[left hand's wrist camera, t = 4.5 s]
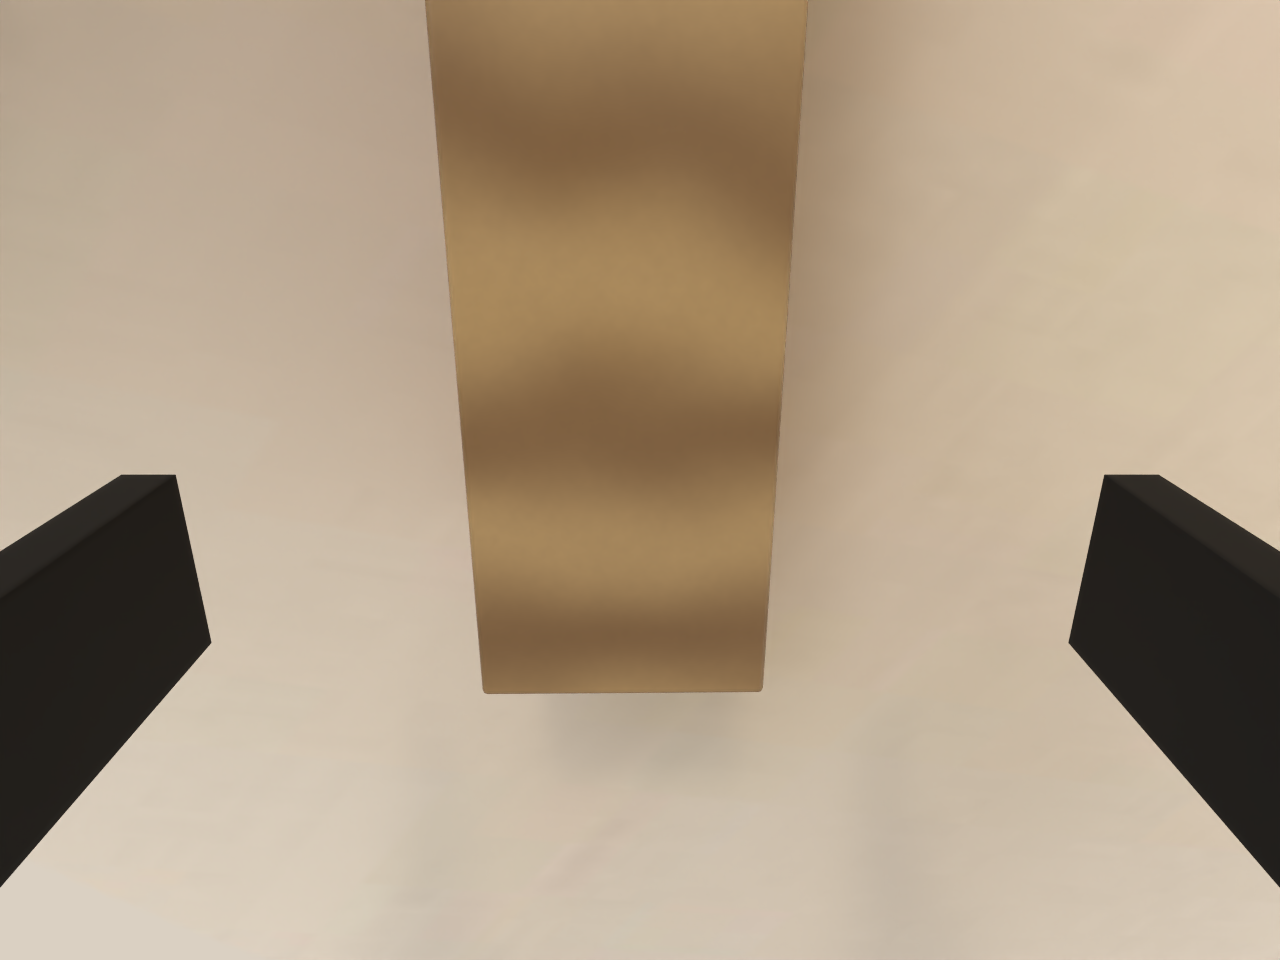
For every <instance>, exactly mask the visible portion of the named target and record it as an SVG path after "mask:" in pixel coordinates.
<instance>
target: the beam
mask: <svg viewBox="0 0 1280 960" xmlns="http://www.w3.org/2000/svg"><path fill="white" fill-rule="evenodd" d="M425 6H426V18H427V30H428V42H429V54H430V66H431V78H432V90H433V102H434V114H435V125H436V137H437V149H438V161H439V173H440V185H441V197H442V209H443V221H444V233H445V245H446V257H447V269H448V281H449V292H450V304H451V316H452V328H453V340H454V352H455V364H456V376H457V388H458V400H459V412H460V424H461V436H462V448H463V460H464V471H465V483H466V495H467V507H468V519H469V531H470V543H471V555H472V567H473V579H474V591H475V603H476V615H477V627H478V638H479V650H480V662H481V674H482V686H483V691H484V693H486V694H532V693H667V692H759V691H761V690H762V688H763V677H764V662H765V647H766V632H767V616H768V601H769V586H770V571H771V556H772V541H773V525H774V510H775V495H776V480H777V465H778V449H779V434H780V419H781V404H782V389H783V374H784V358H785V343H786V328H787V313H788V298H789V282H790V267H791V252H792V237H793V222H794V207H795V191H796V176H797V161H798V146H799V131H800V115H801V100H802V85H803V70H804V55H805V40H806V24H807V9H808V0H425Z"/></svg>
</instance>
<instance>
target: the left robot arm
mask: <svg viewBox="0 0 1280 960" xmlns="http://www.w3.org/2000/svg"><path fill="white" fill-rule="evenodd" d="M210 644H211V638H210V634H209V629H208V624H207V620H206V615H205V610H204V605H203V601H202V596H201V591H200V587H199V582H198V577H197V573H196V568H195V563H194V559H193V554H192V549H191V545H190V540H189V535H188V531H187V526H186V521H185V516H184V512H183V507H182V502H181V498H180V493H179V488H178V484H177V479H176V475H120V476H119V477H117V478H115V479H114V480H112V481H111V482H109V483H108V484H106V485H104V486H103V487H101V488H100V489H98V490H97V491H95V492H93V493H92V494H90V495H89V496H87V497H85V498H84V499H82V500H81V501H79V502H78V503H76V504H74V505H73V506H71V507H70V508H68V509H66V510H65V511H63V512H62V513H60V514H59V515H57V516H55V517H54V518H52V519H51V520H49V521H48V522H46V523H44V524H43V525H41V526H40V527H38V528H36V529H35V530H33V531H32V532H30V533H29V534H27V535H25V536H24V537H22V538H21V539H19V540H18V541H16V542H14V543H13V544H11V545H10V546H8V547H6V548H5V549H3V550H2V551H0V887H1V886H2V885H3V884H4V882H5V881H6V880H7V879H8V878H9V877H10V876H11V874H12V873H13V872H14V871H15V870H16V869H17V867H18V866H19V865H20V864H21V863H22V862H23V860H24V859H25V858H26V857H27V856H28V855H29V854H30V852H31V851H32V850H33V849H34V848H35V847H36V845H37V844H38V843H39V842H40V841H41V840H42V838H43V837H44V836H45V835H46V834H47V833H48V832H49V830H50V829H51V828H52V827H53V826H54V825H55V823H56V822H57V821H58V820H59V819H60V818H61V816H62V815H63V814H64V813H65V812H66V811H67V810H68V808H69V807H70V806H71V805H72V804H73V803H74V801H75V800H76V799H77V798H78V797H79V796H80V794H81V793H82V792H83V791H84V790H85V789H86V788H87V786H88V785H89V784H90V783H91V782H92V781H93V779H94V778H95V777H96V776H97V775H98V774H99V772H100V771H101V770H102V769H103V768H104V767H105V765H106V764H107V763H108V762H109V761H110V760H111V759H112V757H113V756H114V755H115V754H116V753H117V752H118V750H119V749H120V748H121V747H122V746H123V745H124V743H125V742H126V741H127V740H128V739H129V738H130V737H131V735H132V734H133V733H134V732H135V731H136V730H137V728H138V727H139V726H140V725H141V724H142V723H143V721H144V720H145V719H146V718H147V717H148V716H149V715H150V713H151V712H152V711H153V710H154V709H155V708H156V706H157V705H158V704H159V703H160V702H161V701H162V699H163V698H164V697H165V696H166V695H167V694H168V693H169V691H170V690H171V689H172V688H173V687H174V686H175V684H176V683H177V682H178V681H179V680H180V679H181V677H182V676H183V675H184V674H185V673H186V672H187V671H188V669H189V668H190V667H191V666H192V665H193V664H194V662H195V661H196V660H197V659H198V658H199V657H200V655H201V654H202V653H203V652H204V651H205V650H206V649H207V647H208V646H209V645H210ZM1069 644H1070V645H1071V646H1072V647H1073V649H1074V650H1075V651H1076V652H1077V653H1078V654H1079V655H1080V657H1081V658H1082V659H1083V660H1084V661H1085V662H1086V664H1087V665H1088V666H1089V667H1090V668H1091V669H1092V671H1093V672H1094V673H1095V674H1096V675H1097V676H1098V677H1099V679H1100V680H1101V681H1102V682H1103V683H1104V684H1105V686H1106V687H1107V688H1108V689H1109V690H1110V691H1111V693H1112V694H1113V695H1114V696H1115V697H1116V698H1117V699H1118V701H1119V702H1120V703H1121V704H1122V705H1123V706H1124V708H1125V709H1126V710H1127V711H1128V712H1129V713H1130V715H1131V716H1132V717H1133V718H1134V719H1135V720H1136V721H1137V723H1138V724H1139V725H1140V726H1141V727H1142V728H1143V730H1144V731H1145V732H1146V733H1147V734H1148V735H1149V737H1150V738H1151V739H1152V740H1153V741H1154V742H1155V743H1156V745H1157V746H1158V747H1159V748H1160V749H1161V750H1162V752H1163V753H1164V754H1165V755H1166V756H1167V757H1168V759H1169V760H1170V761H1171V762H1172V763H1173V764H1174V765H1175V767H1176V768H1177V769H1178V770H1179V771H1180V772H1181V774H1182V775H1183V776H1184V777H1185V778H1186V779H1187V781H1188V782H1189V783H1190V784H1191V785H1192V786H1193V788H1194V789H1195V790H1196V791H1197V792H1198V793H1199V794H1200V796H1201V797H1202V798H1203V799H1204V800H1205V801H1206V803H1207V804H1208V805H1209V806H1210V807H1211V808H1212V810H1213V811H1214V812H1215V813H1216V814H1217V815H1218V816H1219V818H1220V819H1221V820H1222V821H1223V822H1224V823H1225V825H1226V826H1227V827H1228V828H1229V829H1230V830H1231V832H1232V833H1233V834H1234V835H1235V836H1236V837H1237V838H1238V840H1239V841H1240V842H1241V843H1242V844H1243V845H1244V847H1245V848H1246V849H1247V850H1248V851H1249V852H1250V854H1251V855H1252V856H1253V857H1254V858H1255V859H1256V860H1257V862H1258V863H1259V864H1260V865H1261V866H1262V867H1263V869H1264V870H1265V871H1266V872H1267V873H1268V874H1269V876H1270V877H1271V878H1272V879H1273V880H1274V881H1275V882H1276V884H1277V885H1278V886H1279V887H1280V551H1278V550H1277V549H1275V548H1274V547H1272V546H1270V545H1269V544H1267V543H1266V542H1264V541H1262V540H1261V539H1259V538H1258V537H1256V536H1255V535H1253V534H1251V533H1250V532H1248V531H1247V530H1245V529H1244V528H1242V527H1240V526H1239V525H1237V524H1236V523H1234V522H1232V521H1231V520H1229V519H1228V518H1226V517H1225V516H1223V515H1221V514H1220V513H1218V512H1217V511H1215V510H1214V509H1212V508H1210V507H1209V506H1207V505H1206V504H1204V503H1202V502H1201V501H1199V500H1198V499H1196V498H1195V497H1193V496H1191V495H1190V494H1188V493H1187V492H1185V491H1183V490H1182V489H1180V488H1179V487H1177V486H1176V485H1174V484H1172V483H1171V482H1169V481H1168V480H1166V479H1165V478H1163V477H1161V476H1160V475H1104V479H1103V484H1102V488H1101V493H1100V498H1099V502H1098V507H1097V512H1096V517H1095V521H1094V526H1093V531H1092V535H1091V540H1090V545H1089V549H1088V554H1087V559H1086V563H1085V568H1084V573H1083V577H1082V582H1081V587H1080V591H1079V596H1078V601H1077V605H1076V610H1075V615H1074V620H1073V624H1072V629H1071V634H1070V638H1069Z"/></svg>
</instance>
